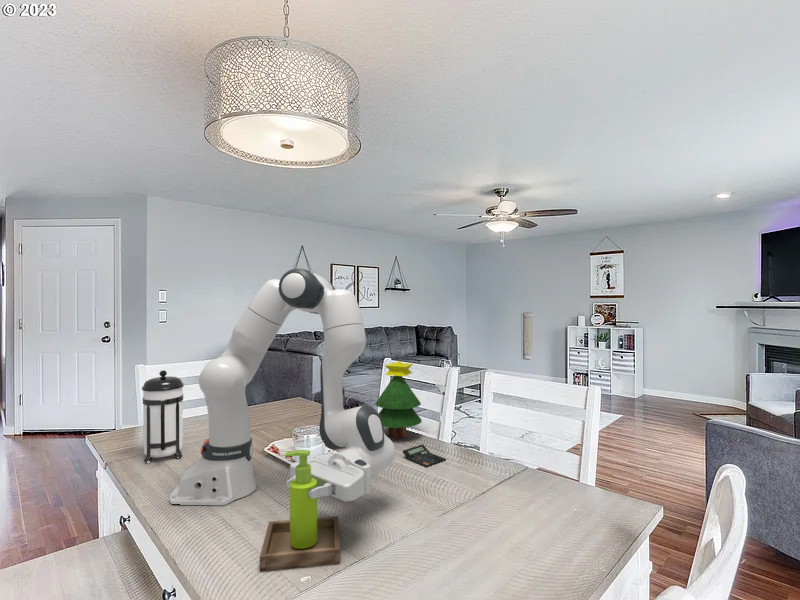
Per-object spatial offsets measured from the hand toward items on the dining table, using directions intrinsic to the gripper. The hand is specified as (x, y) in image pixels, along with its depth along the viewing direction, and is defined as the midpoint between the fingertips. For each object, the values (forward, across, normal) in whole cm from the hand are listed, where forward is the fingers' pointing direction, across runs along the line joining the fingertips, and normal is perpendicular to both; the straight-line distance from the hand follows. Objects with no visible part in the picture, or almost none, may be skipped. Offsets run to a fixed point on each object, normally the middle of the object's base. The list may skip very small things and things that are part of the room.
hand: (299, 489), depth 95 cm
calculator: (-60, -10, +14) cm, 63 cm away
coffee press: (-7, -81, +14) cm, 82 cm away
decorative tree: (-74, -32, +14) cm, 82 cm away
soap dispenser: (-1, 0, +12) cm, 12 cm away
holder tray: (-1, 0, +13) cm, 13 cm away
